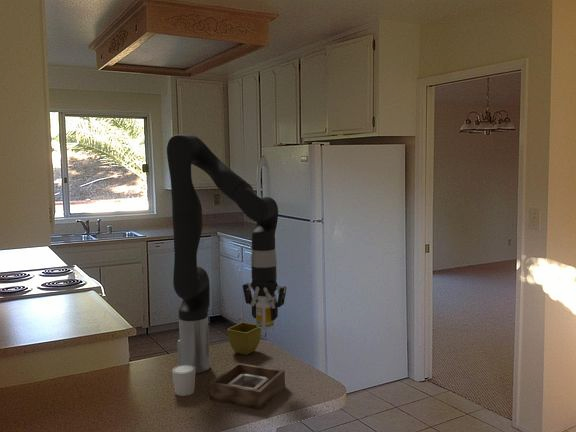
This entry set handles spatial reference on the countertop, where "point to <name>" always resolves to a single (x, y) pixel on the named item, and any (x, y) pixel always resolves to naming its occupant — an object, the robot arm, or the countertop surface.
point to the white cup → (184, 379)
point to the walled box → (247, 385)
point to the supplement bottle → (263, 313)
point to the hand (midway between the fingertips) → (264, 318)
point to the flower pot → (244, 337)
